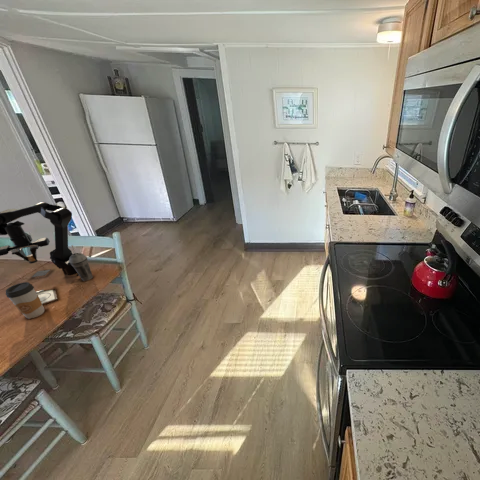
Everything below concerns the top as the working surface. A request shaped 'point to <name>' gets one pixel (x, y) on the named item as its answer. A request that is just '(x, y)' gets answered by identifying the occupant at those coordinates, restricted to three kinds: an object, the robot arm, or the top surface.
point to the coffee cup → (25, 299)
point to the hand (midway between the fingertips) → (32, 260)
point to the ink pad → (41, 273)
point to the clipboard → (47, 296)
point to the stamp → (31, 259)
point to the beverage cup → (81, 265)
